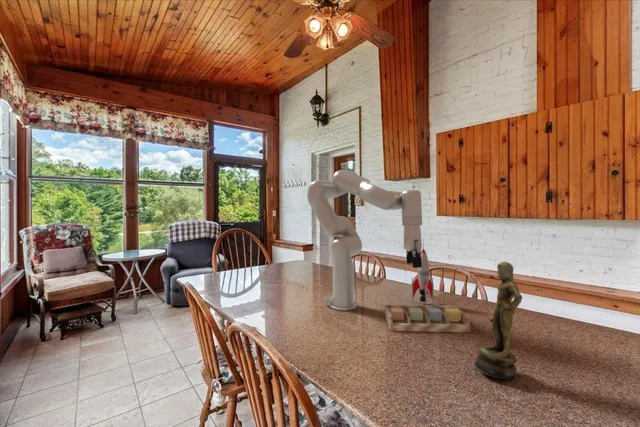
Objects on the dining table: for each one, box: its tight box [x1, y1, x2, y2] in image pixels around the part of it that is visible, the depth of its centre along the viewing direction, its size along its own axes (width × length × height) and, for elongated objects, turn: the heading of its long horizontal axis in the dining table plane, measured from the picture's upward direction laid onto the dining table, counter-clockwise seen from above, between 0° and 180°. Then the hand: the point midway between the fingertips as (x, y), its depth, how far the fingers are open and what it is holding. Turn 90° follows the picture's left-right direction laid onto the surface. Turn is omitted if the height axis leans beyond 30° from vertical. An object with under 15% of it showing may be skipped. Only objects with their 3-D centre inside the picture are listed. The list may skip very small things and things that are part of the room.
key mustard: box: [445, 308, 461, 320], centre depth 117 cm, size 4×4×3 cm
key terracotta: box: [390, 308, 404, 319], centre depth 119 cm, size 4×4×3 cm
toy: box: [411, 238, 434, 306], centre depth 141 cm, size 10×9×30 cm
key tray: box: [384, 304, 471, 333], centre depth 118 cm, size 28×14×5 cm, turn 86°
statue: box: [474, 261, 523, 380], centre depth 82 cm, size 11×11×30 cm
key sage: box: [408, 308, 423, 320], centre depth 118 cm, size 4×4×3 cm
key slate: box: [427, 308, 442, 320], centre depth 118 cm, size 4×4×3 cm
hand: (413, 265), depth 121 cm, fingers open, 9 cm apart
